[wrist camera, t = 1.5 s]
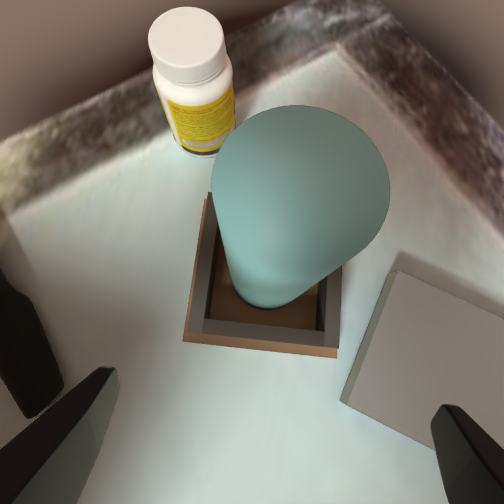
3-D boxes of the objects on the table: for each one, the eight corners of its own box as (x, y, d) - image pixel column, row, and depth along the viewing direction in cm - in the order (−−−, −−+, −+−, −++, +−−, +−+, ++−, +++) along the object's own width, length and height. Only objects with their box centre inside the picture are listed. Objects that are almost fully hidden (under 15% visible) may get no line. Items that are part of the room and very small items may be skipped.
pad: (476, 470, 20) (495, 481, 18) (339, 400, 21) (346, 405, 19) (514, 332, 22) (533, 332, 20) (388, 274, 23) (398, 269, 21)
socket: (330, 357, 21) (349, 361, 17) (186, 341, 21) (173, 342, 17) (336, 221, 24) (354, 198, 20) (207, 207, 24) (199, 181, 20)
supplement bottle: (248, 136, 25) (250, 41, 17) (199, 172, 24) (177, 89, 16) (209, 95, 26) (193, -14, 18) (161, 128, 25) (121, 29, 17)
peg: (278, 324, 20) (334, 307, 8) (216, 284, 21) (175, 205, 8) (315, 264, 21) (420, 160, 9) (256, 226, 22) (273, 77, 9)
